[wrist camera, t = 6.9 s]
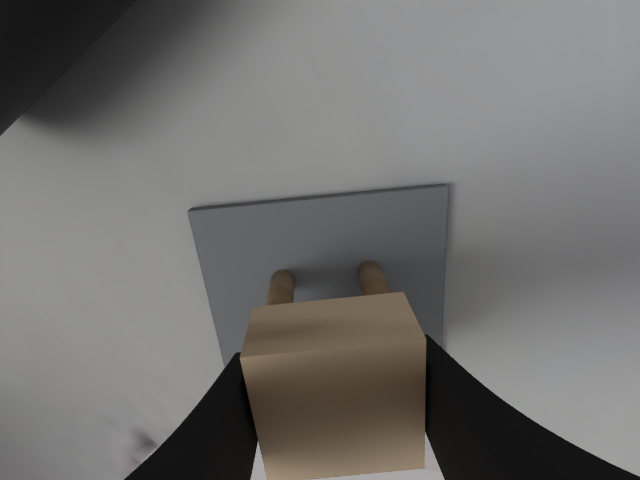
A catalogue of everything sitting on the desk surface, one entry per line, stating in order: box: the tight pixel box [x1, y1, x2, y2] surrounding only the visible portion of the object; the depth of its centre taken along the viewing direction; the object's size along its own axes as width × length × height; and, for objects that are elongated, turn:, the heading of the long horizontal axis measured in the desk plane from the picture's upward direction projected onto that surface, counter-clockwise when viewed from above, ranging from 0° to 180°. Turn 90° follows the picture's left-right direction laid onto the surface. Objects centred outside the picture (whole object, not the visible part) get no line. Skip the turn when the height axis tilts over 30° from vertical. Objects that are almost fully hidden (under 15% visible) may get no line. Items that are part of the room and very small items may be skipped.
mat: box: [187, 184, 448, 367], centre depth 16 cm, size 10×10×1 cm
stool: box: [240, 261, 426, 480], centre depth 13 cm, size 5×5×6 cm
